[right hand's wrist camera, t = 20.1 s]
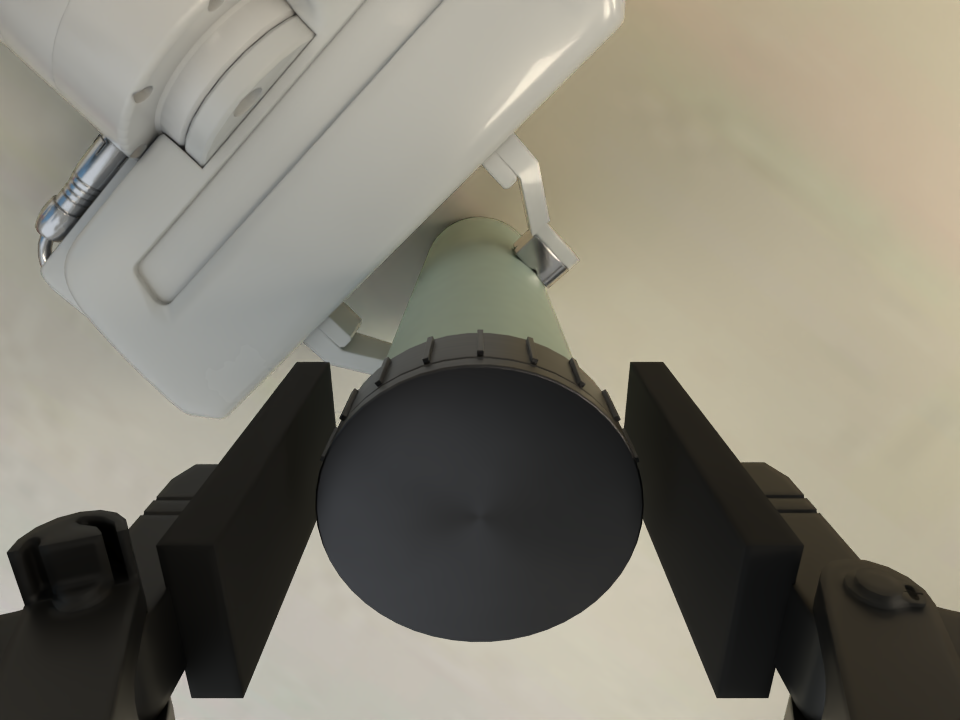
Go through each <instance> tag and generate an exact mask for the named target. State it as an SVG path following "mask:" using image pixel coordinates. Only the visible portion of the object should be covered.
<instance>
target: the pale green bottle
mask: <svg viewBox="0 0 960 720" xmlns="http://www.w3.org/2000/svg"><path fill="white" fill-rule="evenodd" d="M520 237H521V235H520V234H519V233H518V232H517V231H516V230H514V229H513V228H512V227H510V226H509V225H507V224H505V223H503V222H501V221H499V220H495V219H492V218H485V217H474V218H468V219H464V220H461V221H458V222H456V223H454V224H452V225H451V226H449V227H448V228H446V229H445V230H444V231H443V232H442V233H441V234H440V235H439V236H438V237H437V238H436V240H435V241H434V242H433V244H432V246H431V248H430V250H429V252H428V255H427V257H426V260H425V262H424V265H423V267H422V270H421V272H420V275H419V277H418V280H417V282H416V285H415V287H414V290H413V292H412V295H411V297H410V300H409V302H408V305H407V308H406V310H405V313H404V315H403V318H402V320H401V323H400V325H399V328H398V330H397V333H396V335H395V338H394V340H393V343H392V345H391V348H390V350H389V353H388V355H387V357H389V358H390V359H392V358H393V357H395V356H397V355H399V354H400V353H402V352H404V351H406V350H408V349H409V348H412V347H414V346H417V345H419V344H422V343H424V342H427V338H428V337H431V336H433V338H434V339H437V338H441V337H445V336H450V335H457V334H465V333H477V330H478V329H483V333H494V334H502V335H510V336H514V337H518V338H522V339H527V337H531V338H533V340H534V342H535V343H537V344H540V345H543V346H545V347H548V348H550V349H551V350H553V351H555V352H557V353H559V354H561V355H562V356H564V357H566V358H567V359H568V360H570V359H571V358H573V357H572V355H571V352H570V350H569V347H568V345H567V342H566V340H565V337H564V335H563V332H562V330H561V327H560V325H559V322H558V320H557V317H556V315H555V312H554V309H553V307H552V304H551V302H550V299H549V297H548V294H547V292H546V289H545V287H544V284H543V283H542V282H541V281H540V279H539V278H538V277H537V275H536V272H535V269H531V268H529V267H528V266H527V265H525V264H524V263H523V262H522V261H521V259H520V258H519V257H518V256H517V255H516V254H515V251H514V250H515V249H514V247H513V244H514V243H515V242H516V241H517V240H518V239H519V238H520Z"/></svg>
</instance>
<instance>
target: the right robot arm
mask: <svg viewBox="0 0 960 720" xmlns="http://www.w3.org/2000/svg"><path fill="white" fill-rule="evenodd" d="M335 427H336V423H335V412H334V402H333V392H332V381H331V371H330V362H297V363H296V364H295V365H294V366H293V368H292V369H291V370H290V372H289V373H288V374H287V376H286V377H285V378H284V379H283V381H282V382H281V383H280V385H279V386H278V387H277V389H276V390H275V391H274V392H273V394H272V395H271V396H270V398H269V399H268V400H267V402H266V403H265V404H264V405H263V407H262V408H261V409H260V411H259V412H258V413H257V415H256V416H255V417H254V418H253V420H252V421H251V422H250V424H249V425H248V426H247V428H246V429H245V430H244V431H243V433H242V434H241V435H240V437H239V438H238V439H237V441H236V442H235V443H234V444H233V446H232V447H231V448H230V450H229V451H228V452H227V454H226V455H225V456H224V457H223V459H222V460H221V461H220V463H219V464H196V465H194V466H193V467H191V468H189V469H188V470H186V471H184V472H183V473H181V474H180V475H178V476H176V477H175V478H173V479H172V480H171V481H170V482H169V483H168V484H167V486H166V487H165V488H164V489H163V490H162V491H161V492H160V494H159V495H158V496H157V499H156V500H154V501H153V502H152V503H151V504H150V505H149V506H148V507H147V509H146V510H145V511H144V515H141V516H140V517H139V518H138V519H137V520H136V521H135V522H134V524H133V525H132V526H131V527H130V528H129V529H128V526H127V522H126V519H125V518H123V517H122V516H120V515H119V514H118V513H116V512H109V511H103V510H96V511H84V512H78V513H74V514H70V515H67V516H63V517H59V518H56V519H54V520H52V521H50V522H47V523H45V524H43V525H40V526H38V527H36V528H34V529H33V530H32V531H30V532H29V533H27V534H26V535H24V536H23V537H21V538H20V539H18V540H17V541H16V543H15V544H14V545H13V546H12V547H11V548H10V549H9V551H8V552H7V555H8V558H9V561H10V564H11V567H12V569H13V572H14V575H15V578H16V581H17V584H18V587H19V590H20V593H21V596H22V599H23V601H24V604H25V606H24V608H23V610H20V611H16V612H12V613H7V614H3V615H0V720H175V716H174V709H173V705H172V701H171V697H170V696H171V694H172V692H173V691H174V689H175V687H176V685H177V683H178V681H179V679H180V678H181V676H182V674H183V672H184V670H185V672H186V676H187V681H188V685H189V689H190V693H191V698H243V697H244V695H245V692H246V690H247V688H248V685H249V683H250V680H251V678H252V676H253V673H254V671H255V668H256V666H257V663H258V661H259V659H260V656H261V654H262V651H263V649H264V646H265V644H266V642H267V639H268V637H269V634H270V632H271V629H272V627H273V625H274V622H275V620H276V617H277V615H278V612H279V610H280V608H281V605H282V603H283V600H284V598H285V596H286V593H287V591H288V588H289V586H290V583H291V581H292V579H293V576H294V574H295V571H296V569H297V566H298V564H299V562H300V559H301V557H302V554H303V552H304V549H305V547H306V545H307V542H308V540H309V537H310V535H311V533H312V530H313V528H314V525H315V523H316V520H317V518H316V510H315V501H316V486H317V481H318V476H319V471H320V468H321V465H322V463H323V461H320V458H321V455H322V453H323V451H324V449H325V447H326V445H327V443H328V441H329V438H330V436H331V434H332V432H333V430H334V428H335ZM624 428H625V430H626V432H627V434H628V437H629V439H630V441H631V443H632V445H633V447H634V449H635V451H636V453H637V455H638V458H639V462H637V465H638V468H639V471H640V476H641V480H642V485H643V497H644V510H643V520H644V523H645V525H646V528H647V530H648V532H649V535H650V537H651V540H652V542H653V545H654V547H655V549H656V552H657V554H658V557H659V559H660V562H661V564H662V566H663V569H664V571H665V574H666V576H667V579H668V581H669V583H670V586H671V588H672V591H673V593H674V596H675V598H676V600H677V603H678V605H679V608H680V610H681V612H682V615H683V617H684V620H685V622H686V625H687V627H688V629H689V632H690V634H691V637H692V639H693V642H694V644H695V646H696V649H697V651H698V654H699V656H700V659H701V661H702V663H703V666H704V668H705V671H706V673H707V675H708V678H709V680H710V683H711V685H712V688H713V690H714V692H715V695H716V697H717V698H769V693H770V689H771V685H772V681H773V676H774V672H775V668H776V669H777V671H778V673H779V674H780V676H781V678H782V680H783V682H784V684H785V686H786V687H787V689H788V691H789V693H790V697H789V701H788V705H787V709H786V713H785V717H784V720H960V612H956V611H951V610H947V609H943V608H939V607H936V605H935V603H934V602H933V601H932V599H931V598H930V596H929V595H928V594H927V592H926V591H925V590H924V589H923V588H921V587H920V586H919V585H917V584H916V583H915V582H914V581H912V580H911V579H910V578H908V577H907V576H905V575H903V574H901V573H899V572H897V571H895V570H893V569H891V568H889V567H886V566H883V565H880V564H876V563H873V562H870V561H866V560H860V559H859V557H858V556H857V555H856V554H855V553H854V552H853V551H852V549H851V548H850V547H849V546H848V545H847V544H846V543H845V541H844V540H843V539H842V538H841V537H840V536H839V535H838V533H837V532H836V531H835V530H834V529H833V528H832V527H831V525H830V524H829V523H828V522H827V521H826V520H825V519H824V517H823V516H822V515H821V514H820V513H817V509H816V508H815V507H814V506H813V505H812V504H811V502H810V501H809V500H808V499H807V498H804V494H803V493H802V492H801V491H800V490H799V489H798V488H797V486H796V485H795V484H794V483H793V482H792V481H791V480H790V478H789V477H787V476H786V475H784V474H782V473H781V472H779V471H777V470H776V469H774V468H773V467H771V466H769V465H768V464H766V463H765V462H740V461H739V460H738V459H737V457H736V456H735V455H734V454H733V452H732V451H731V450H730V448H729V447H728V446H727V444H726V443H725V442H724V441H723V439H722V438H721V437H720V435H719V434H718V433H717V431H716V430H715V429H714V428H713V426H712V425H711V424H710V422H709V421H708V420H707V418H706V417H705V416H704V415H703V413H702V412H701V411H700V409H699V408H698V407H697V405H696V404H695V403H694V402H693V400H692V399H691V398H690V396H689V395H688V394H687V392H686V391H685V390H684V389H683V387H682V386H681V385H680V383H679V382H678V381H677V379H676V378H675V377H674V376H673V374H672V373H671V372H670V370H669V369H668V368H667V366H666V365H665V364H664V363H663V362H630V371H629V381H628V392H627V402H626V412H625V423H624Z"/></svg>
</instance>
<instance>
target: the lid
mask: <svg viewBox="0 0 960 720" xmlns="http://www.w3.org/2000/svg"><path fill="white" fill-rule="evenodd" d="M339 419H341V422H340V424H339V426H338V428H337V427H335V428H334V430H333V432H332V434H331V436H330V438H329V441H328V443H327V445H326V447H325V449H324V451H323V453H322V455H321V458H320V461H323V463H322V465H321V468H320V471H319V476H318V481H317V486H316V501H315V510H316V518H317V526H318V530H319V533H320V537H321V540H322V544H323V546H324V548H325V551H326V553H327V555H328V557H329V560H330V562H331V563H332V565H333V566H334V568H335V569H336V571H337V573H338V574H339V576H340V577H341V578H342V579H343V581H344V582H345V583H346V584H347V585H348V587H349V588H350V589H351V590H352V591H353V592H354V593H355V594H356V595H357V596H358V597H359V598H360V599H362V600H363V601H364V602H365V603H366V604H367V605H369V606H370V607H372V608H373V609H374V610H376V611H377V612H378V613H380V614H381V615H383V616H385V617H387V618H389V619H390V620H392V621H394V622H396V623H398V624H400V625H402V626H405V627H407V628H409V629H412V630H414V631H417V632H420V633H424V634H427V635H430V636H434V637H439V638H444V639H449V640H457V641H468V642H492V641H502V640H510V639H515V638H520V637H525V636H529V635H532V634H535V633H539V632H542V631H545V630H548V629H550V628H552V627H554V626H557V625H559V624H561V623H563V622H565V621H567V620H569V619H571V618H572V617H574V616H576V615H577V614H579V613H581V612H582V611H584V610H585V609H586V608H588V607H589V606H590V605H592V604H593V603H594V602H596V601H597V600H598V599H599V598H600V597H601V596H602V595H603V594H604V593H605V592H606V591H607V590H608V589H609V588H610V587H611V586H612V584H613V583H614V582H615V581H616V579H617V578H618V577H619V576H620V575H621V573H622V571H623V570H624V568H625V566H626V565H627V563H628V561H629V560H630V558H631V556H632V553H633V551H634V549H635V546H636V544H637V541H638V537H639V533H640V530H641V526H642V519H643V510H644V497H643V485H642V480H641V476H640V471H639V468H638V465H637V462H639V458H638V455H637V453H636V451H635V449H634V447H633V445H632V443H631V441H630V439H629V437H628V434H627V432H626V430H625V428H623V429H622V428H621V426H620V424H619V422H618V421H619V420H621V419H620V417H619V415H618V413H617V411H616V409H615V407H614V404H613V402H612V400H611V398H610V396H609V394H608V392H607V391H606V390H603V391H601V390H600V389H599V387H598V386H597V385H596V384H595V382H594V381H593V380H592V379H591V378H590V377H589V376H588V375H587V374H586V373H585V372H584V371H583V370H582V369H581V368H579V366H578V363H577V361H576V360H575V359H574V358H571V359H570V360H568V359H567V358H566V357H564V356H562V355H561V354H559V353H557V352H555V351H553V350H551V349H550V348H548V347H545V346H543V345H540V344H537V343H535V342H534V340H533V338H531V337H527V339H522V338H518V337H514V336H510V335H502V334H494V333H483V329H478V330H477V333H465V334H457V335H450V336H445V337H441V338H437V339H434V338H433V336H431V337H428V338H427V342H424V343H422V344H419V345H417V346H414V347H412V348H409V349H408V350H406V351H404V352H402V353H400V354H399V355H397V356H395V357H393V358H392V359H390V358H389V357H387V358H385V359H384V361H383V363H382V366H381V367H380V368H379V369H377V370H376V371H375V372H374V373H373V374H372V375H371V376H370V377H369V378H368V379H367V380H366V381H365V382H364V383H363V385H362V386H361V388H360V389H359V390H356V389H354V390H353V391H352V393H351V395H350V397H349V399H348V401H347V403H346V405H345V407H344V410H343V412H342V414H341V416H340V418H339Z"/></svg>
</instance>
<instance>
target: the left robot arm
mask: <svg viewBox="0 0 960 720" xmlns="http://www.w3.org/2000/svg"><path fill="white" fill-rule="evenodd" d="M624 18H625V0H0V41H1V42H2V43H3V44H4V45H5V46H6V47H8V48H9V49H10V50H11V51H12V52H13V53H14V54H15V55H16V56H17V57H18V58H20V59H21V60H22V61H23V62H24V63H25V64H26V65H27V66H28V67H29V68H31V69H32V70H33V71H34V72H35V73H36V74H37V75H38V76H39V77H40V78H41V79H43V80H44V81H45V82H46V83H47V84H48V85H49V86H50V87H51V88H52V89H54V90H55V91H56V92H57V93H58V94H59V95H60V96H61V97H62V98H63V99H65V100H66V101H67V102H68V103H69V104H70V105H71V106H72V107H74V108H75V109H76V110H77V111H78V112H79V113H80V114H81V115H82V116H83V117H84V118H86V119H87V120H88V121H89V122H90V123H91V124H92V125H93V126H94V127H95V128H97V129H98V130H99V131H100V132H101V133H100V134H99V136H98V137H97V138H96V139H95V141H94V143H93V144H92V145H91V147H90V148H89V149H88V150H87V152H86V153H85V154H84V156H83V157H82V158H81V160H80V161H79V163H78V164H77V166H76V167H75V169H74V171H73V173H72V174H71V177H70V178H69V180H68V182H67V183H66V184H65V186H64V188H63V189H62V190H61V191H60V192H59V194H58V195H55V196H53V197H52V198H51V199H50V200H49V201H48V202H47V203H46V204H45V206H44V207H43V208H42V210H41V212H40V213H39V215H38V217H37V220H36V223H35V228H36V230H37V232H38V233H39V234H40V238H39V242H38V258H39V262H40V265H41V275H42V277H43V278H44V280H45V281H46V282H47V284H48V285H49V286H50V287H51V288H52V289H53V290H54V291H55V292H56V293H57V294H59V295H60V296H61V297H62V298H64V299H65V300H66V301H67V302H69V303H70V304H71V305H72V306H73V307H75V308H76V309H77V310H78V311H80V312H81V313H82V314H83V315H85V316H86V317H87V318H88V319H89V320H90V321H91V322H92V324H93V325H94V326H95V327H96V328H97V329H98V330H99V332H100V333H101V334H102V335H103V336H104V337H105V338H106V339H107V340H108V341H109V343H110V344H111V345H112V346H113V347H114V348H115V349H116V350H117V351H118V352H119V353H120V354H121V355H122V356H123V357H124V358H125V359H126V360H127V361H128V362H129V363H130V364H131V365H132V366H133V367H134V368H135V369H136V370H137V371H138V372H139V373H140V374H141V375H142V376H143V377H144V378H145V379H146V380H147V381H148V382H149V383H150V384H151V385H152V386H153V387H155V388H156V389H157V390H158V391H159V392H160V393H161V394H162V395H163V396H164V397H165V398H167V399H168V400H169V401H170V402H171V403H172V404H173V405H175V406H176V407H177V408H178V409H180V410H181V411H183V412H184V413H186V414H188V415H191V416H197V417H203V418H210V419H224V418H226V417H227V416H229V415H230V414H231V413H232V412H233V411H234V410H235V409H236V408H237V407H238V406H239V405H240V404H241V403H242V402H243V401H244V400H245V399H246V398H247V397H248V396H249V395H250V394H251V393H252V392H253V391H254V390H255V389H256V388H257V387H258V386H259V385H260V384H261V383H262V382H263V381H264V380H265V379H266V378H267V377H268V376H269V375H270V374H271V373H272V372H273V371H274V370H275V369H276V368H277V367H278V366H279V365H280V364H281V363H282V362H283V361H284V360H285V359H286V358H287V357H288V356H289V355H290V354H291V353H292V352H293V351H294V350H295V349H296V348H297V347H298V346H299V345H300V344H301V343H302V342H303V343H304V344H306V345H307V346H308V347H309V348H310V349H311V350H312V351H313V352H315V353H316V354H317V355H318V356H319V357H320V358H321V359H322V360H323V361H325V362H330V365H333V366H337V367H342V368H346V369H350V370H354V371H358V372H362V373H367V374H371V375H372V374H373V373H374V372H375V371H376V370H377V369H379V368H380V367H381V366H382V363H383V361H384V359H385V358H387V355H388V353H389V350H390V348H391V345H392V343H389V342H385V341H382V340H379V339H376V338H372V337H369V336H366V335H363V334H359V333H356V331H357V330H358V328H359V326H360V325H361V318H360V317H359V316H358V315H357V314H356V313H355V312H354V311H353V310H351V309H350V308H349V307H348V306H347V305H346V304H345V303H344V301H345V300H346V299H347V298H348V297H349V296H350V295H351V294H352V293H353V292H354V291H355V290H356V289H357V288H358V287H359V286H360V285H361V284H362V283H363V282H364V281H365V280H366V279H367V278H368V277H369V276H370V275H371V274H372V273H373V272H374V271H375V270H376V269H377V268H378V267H379V266H380V265H381V264H382V263H383V262H384V261H385V260H386V259H387V258H388V257H389V256H390V255H391V254H392V253H393V252H394V251H395V250H396V249H397V248H398V247H399V246H400V245H401V244H402V243H403V242H404V241H405V240H406V239H407V238H408V237H409V236H410V235H411V234H412V233H413V232H414V231H415V230H416V229H417V228H418V227H419V226H420V225H421V224H422V223H423V222H424V221H425V220H426V219H427V218H428V217H429V216H430V215H431V214H432V213H433V212H434V211H435V210H436V209H437V208H438V207H439V206H440V205H441V204H442V203H443V202H444V201H445V200H446V199H447V198H448V197H449V196H450V195H451V194H452V193H453V192H454V191H455V190H456V189H457V188H458V187H459V186H460V185H461V184H462V183H463V182H464V181H465V180H466V179H467V178H469V177H470V176H471V175H472V174H473V173H474V172H475V171H476V170H477V169H478V168H479V167H480V166H481V165H482V166H483V167H484V168H485V169H486V170H487V171H488V172H489V173H490V174H491V175H492V177H493V178H494V179H495V180H496V181H497V182H498V183H499V184H500V185H501V186H502V187H503V189H509V188H510V187H511V186H512V185H513V184H514V183H515V182H516V181H517V178H518V183H519V188H520V192H521V197H522V202H523V206H524V211H525V216H526V220H527V225H528V230H527V231H526V232H525V233H524V234H523V235H522V236H521V237H520V238H519V239H518V240H517V241H516V242H515V243H514V244H513V247H514V249H515V250H514V251H515V254H516V255H517V256H518V257H519V258H520V259H521V261H522V262H523V263H524V264H525V265H527V266H528V267H529V268H531V269H535V272H536V275H537V277H538V278H539V279H540V281H541V282H542V283H543V284H544V285H545V286H546V287H547V288H549V287H551V286H552V285H553V284H554V283H555V282H556V281H557V280H559V279H560V278H561V277H562V276H563V275H564V274H566V273H567V272H568V271H569V270H570V269H571V268H572V267H573V266H575V265H576V264H577V263H578V262H579V261H580V260H579V258H578V257H577V255H576V254H575V253H574V252H573V250H572V249H571V248H570V247H569V246H568V244H567V243H566V242H565V241H564V240H563V239H562V238H561V237H560V235H559V234H558V233H557V232H556V231H555V230H554V229H553V228H552V227H551V225H550V224H549V223H548V222H549V221H550V218H549V213H548V208H547V203H546V198H545V192H544V187H543V182H542V177H541V172H540V166H539V161H538V160H537V159H536V158H535V157H534V156H533V154H532V153H531V152H530V151H529V150H528V149H527V147H526V146H525V145H524V144H523V143H522V142H521V140H520V139H519V138H518V137H517V136H516V135H515V133H514V132H515V131H516V130H517V129H518V128H519V127H520V126H521V125H522V124H523V123H524V122H525V121H526V120H527V119H528V118H529V117H530V116H531V115H532V114H533V113H534V112H535V111H536V110H537V109H538V108H539V107H540V106H541V105H542V104H543V103H544V102H545V101H546V100H547V99H548V98H549V97H550V96H551V95H552V94H553V93H554V92H555V91H556V90H557V89H558V88H559V87H560V86H561V85H562V84H563V83H564V82H565V81H566V80H567V79H568V78H569V77H570V76H571V75H572V74H573V73H574V72H575V71H576V70H577V69H578V68H579V67H580V66H581V65H582V64H583V63H584V62H585V61H586V60H587V59H588V58H589V57H590V56H591V55H592V54H593V53H594V52H595V51H596V50H597V49H598V48H599V47H600V46H602V45H603V44H604V43H605V42H606V41H607V40H608V39H609V38H610V37H611V36H612V35H613V34H614V33H615V32H616V31H617V30H618V29H619V28H620V26H621V25H622V24H623V21H624ZM53 242H61V243H60V244H59V245H58V246H57V248H56V249H55V250H54V251H53V253H52V245H53Z"/></svg>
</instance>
